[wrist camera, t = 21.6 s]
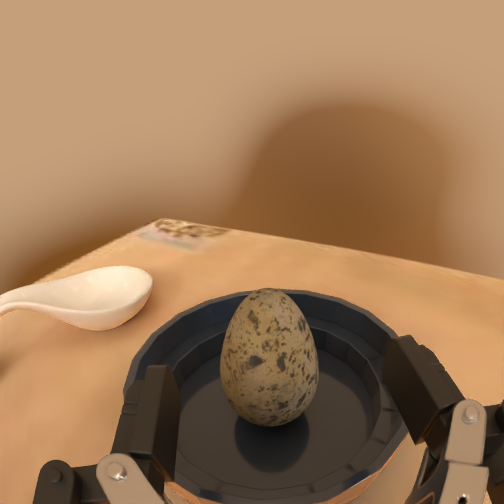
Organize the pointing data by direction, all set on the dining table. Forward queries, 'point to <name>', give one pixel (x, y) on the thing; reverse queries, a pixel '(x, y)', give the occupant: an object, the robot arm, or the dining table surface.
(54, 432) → the dining table surface
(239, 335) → the decorative egg
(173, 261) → the dining table surface
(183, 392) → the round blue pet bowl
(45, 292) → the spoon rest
